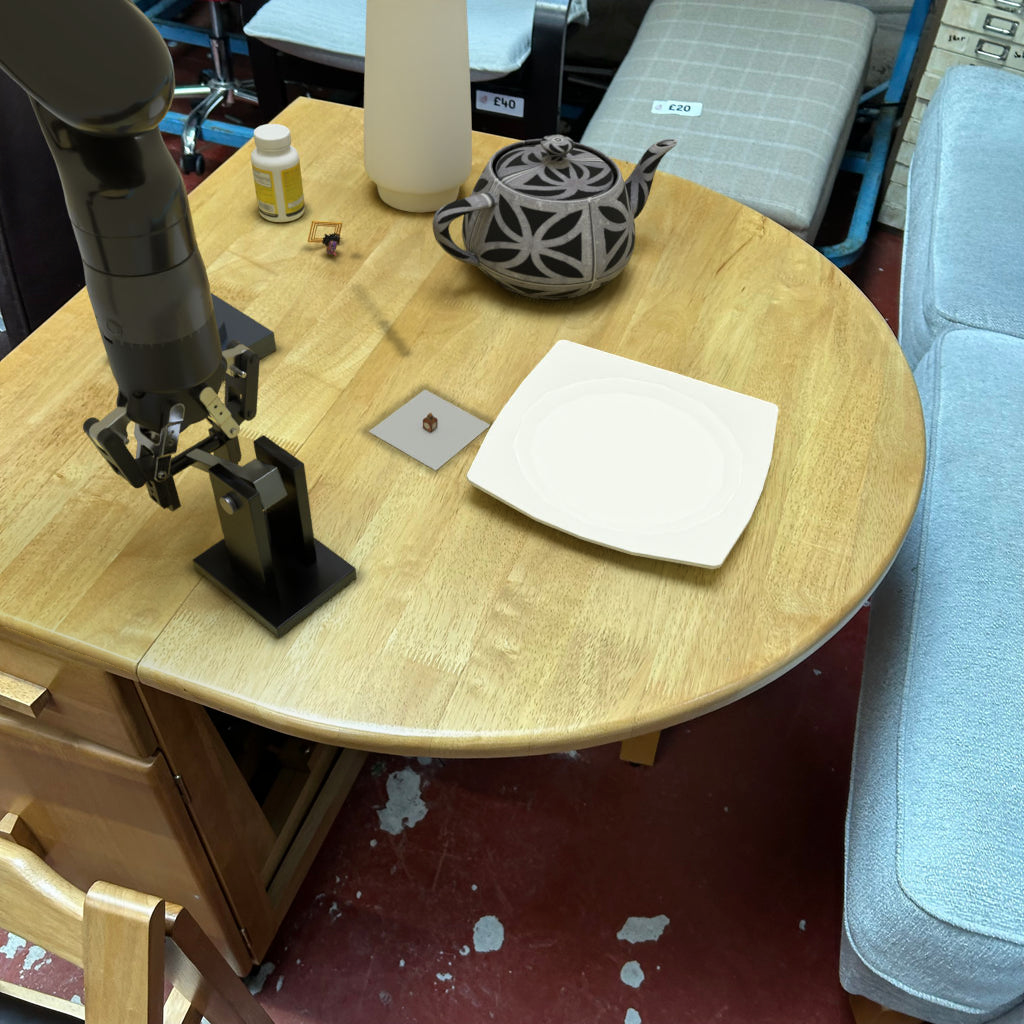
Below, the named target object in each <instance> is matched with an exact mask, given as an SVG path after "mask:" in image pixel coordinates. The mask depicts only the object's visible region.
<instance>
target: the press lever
mask: <svg viewBox="0 0 1024 1024" xmlns="http://www.w3.org/2000/svg"><path fill="white" fill-rule="evenodd" d="M220 447H222V442H221V440H220V439H219V437H218V436H217V435H215V434H212V435H210V436H206V437H205V438H203V439H201V440H200V441H198V442H197V443H195V444H193V445H192V446H190V447H189V448H186V449H185V450H183V451H181V452H180V453H178V454H176V455H175V456H173V457H171V463H170V470H169V473H170V474H172V475H173V477H174V476H176V475H178V474H180V473H181V472H183V471H184V470H186V469H188V468H189V467H192V468H195V469H198V470H200V471H201V472H204V473H207V474H209V472H208V469H209V468H211V467H212V466H214V465H216V464H217V463H220V464H222V465H223V466H224V467H226V468H227V469H228V470H230V471H231V472H232V473H234V474H235V475H236V476H238V477H239V478H241V479H242V480H243V481H245V482H246V483H247V484H249V485H250V486H251V487H253V488H254V489H255V490H257V491H258V492H259V493H260V497H261V502H262V508H263V511H265V510H266V509H267V508H269V507H270V506H272V505H273V504H275V503H276V502H278V501H279V500H281V499H282V498H284V497H285V496H287V495H288V494H287V491H286V488H285V486H284V483H283V480H282V478H281V475H280V472H279V470H278V468H277V467H275V466H273V465H270V464H267V463H265V462H262V461H260V460H257V459H256V458H253V459H251V461H248V462H247V463H246V464H244V465H239V464H238V465H237V464H235V463H232V462H230V461H227V460H225V459H222V458H220V457H217V456H215V455H214V454H212V453H213V452H214V451H215V450H217V449H219V448H220Z"/></svg>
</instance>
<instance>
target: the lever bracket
mask: <svg viewBox="0 0 1024 1024" xmlns="http://www.w3.org/2000/svg"><path fill="white" fill-rule="evenodd" d="M252 444H253V447H254V453H255V459H257V460H260V461H262V462H265V463H267V464H270V465H273V466H275V467H277V468H278V470H279V472H280V475H281V478H282V480H283V483H284V486H285V488H286V491H287V494H288V495H287V496H285V497H284V498H282V499H281V500H279V501H278V502H276V503H275V504H273V505H272V506H270V507H269V508H267V509H266V510H263V508H262V502H261V497H260V493H259V492H258V491H257V490H255V489H254V488H253V487H251V486H250V485H249V484H247V483H246V482H245V481H243V480H242V479H241V478H239V477H238V476H236V475H235V474H234V473H232V472H231V471H230V470H228V469H227V468H226V467H224V466H223V465H222V464H220V463H217V464H216V465H214V466H212V467H211V468H209V469H208V472H209V473H208V476H209V480H210V485H211V489H212V493H213V498H214V502H215V505H216V510H217V514H218V518H219V522H220V528H221V531H222V536H223V538H222V539H221V540H219V541H218V542H216V543H214V544H213V545H211V546H210V547H209V548H207V549H205V550H204V551H202V552H201V553H200V554H198V555H197V556H195V557H193V559H192V563H193V567H194V569H195V570H196V571H197V573H199V574H200V575H202V576H203V577H204V578H206V580H208V581H209V582H210V583H211V584H212V585H214V586H215V587H216V588H217V589H219V590H220V591H221V592H222V593H223V594H225V595H226V596H227V597H228V598H230V599H231V600H232V601H233V602H234V603H236V604H237V605H238V606H240V607H241V609H243V610H244V611H245V612H246V613H248V614H249V615H251V616H252V617H253V618H254V619H255V620H257V621H258V622H259V623H260V624H261V625H262V626H263V627H265V628H266V629H267V630H269V631H270V632H271V633H272V634H273V635H275V636H276V638H278V639H280V638H281V637H283V636H284V635H285V634H287V633H288V632H289V631H290V630H291V629H293V628H294V627H296V626H297V625H298V624H299V623H300V622H302V621H303V620H304V619H306V618H307V617H308V616H310V615H311V614H312V613H313V612H315V611H316V610H318V609H319V608H320V607H321V606H322V605H324V604H325V603H326V602H328V601H329V600H330V599H331V598H333V597H334V596H335V595H336V594H338V593H339V592H341V590H343V589H344V588H345V587H347V586H348V585H349V584H351V583H352V582H353V581H354V580H355V579H357V569H356V567H355V566H353V564H350V562H348V561H346V560H345V559H344V558H343V557H341V556H340V555H338V554H337V553H336V552H334V551H333V550H332V549H330V548H329V547H328V546H326V545H325V544H324V543H323V542H321V541H319V540H318V539H317V538H315V535H314V528H313V521H312V520H313V519H312V512H311V505H310V496H309V492H308V491H309V490H308V484H307V483H308V482H307V476H306V475H307V474H306V468H305V463H304V462H303V461H301V460H300V459H298V458H297V457H296V456H294V455H293V454H291V453H290V452H289V451H287V450H286V449H284V448H283V447H282V446H280V445H279V444H278V443H276V442H274V441H273V440H271V439H270V438H269V437H267V436H266V435H264V434H263V435H261V436H259V437H257V438H256V439H255V440H253V443H252Z"/></svg>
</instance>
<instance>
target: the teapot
mask: <svg viewBox="0 0 1024 1024" xmlns="http://www.w3.org/2000/svg"><path fill="white" fill-rule="evenodd" d="M678 142H679V141H678V140H677V139H674V138H666V139H662V140H659V141H656V142H655V143H653V144H652V145H650V146H649V148H647V149H646V150H645V152H644V153H643V154H642V156H641V158H640V159H639V160H638V161H637V164H636V165H635V167H634V169H633V170H632V171H631V173H630V174H629V176H628V177H627V178H626V179H624V177H623V174H622V171H621V169H620V167H619V165H618V164H617V163H616V162H615V161H614V160H613V159H612V158H611V157H610V156H608V155H607V154H606V153H604V152H602V151H600V150H598V149H597V148H594V147H592V146H590V145H586V144H583V143H580V142H575V141H574V140H573V139H571V137H569V136H566V135H562V134H549V135H545V136H544V137H542V138H535V139H526V140H521V141H517V142H513V143H511V144H508V145H506V146H505V145H504V146H503V147H502V148H500V149H498V150H497V151H496V152H495V153H494V154H493V155H492V156H491V157H490V158H489V160H488V161H487V163H486V165H485V167H484V168H483V170H482V172H481V173H480V175H479V178H478V179H477V181H476V183H475V185H474V186H473V189H472V190H471V193H470V195H469V196H467V197H463V198H460V199H456V200H455V201H454V202H451V203H449V204H447V205H445V206H443V207H442V208H440V209H439V210H438V211H435V213H434V215H433V218H432V232H433V235H434V238H435V240H436V242H437V244H438V245H439V247H441V249H442V250H443V251H444V252H445V253H447V254H448V255H449V256H450V257H452V258H454V259H456V260H458V261H459V262H461V263H465V264H468V265H471V266H475V267H477V268H478V269H479V270H480V271H481V272H483V273H484V274H485V275H486V276H487V277H489V278H490V279H491V280H492V281H494V282H495V283H496V284H498V286H500V287H503V288H504V289H506V290H507V291H510V292H512V293H514V294H517V295H520V296H524V297H528V298H531V299H539V300H565V299H566V300H567V299H571V298H576V297H580V296H583V295H586V294H588V293H591V292H593V291H594V290H596V289H598V288H600V287H602V286H604V285H606V284H608V283H609V282H611V281H612V280H614V279H615V278H616V277H618V276H619V275H620V274H621V273H622V272H623V271H624V269H626V267H627V265H628V264H629V262H630V260H631V258H632V256H633V253H634V250H635V244H636V225H635V224H636V223H635V220H636V219H637V218H638V217H639V215H640V214H641V213H642V211H643V210H644V208H645V206H646V205H647V202H648V199H649V196H650V193H651V188H652V185H653V182H654V177H655V175H656V171H657V169H658V167H659V164H660V162H661V161H662V159H663V158H664V157H665V156H666V154H667V153H668V152H669V151H671V150H672V149H673V148H674V147H676V146H677V144H678ZM462 216H463V218H462V224H461V237H462V242H463V245H464V248H465V249H463V248H461V247H460V246H458V245H457V244H456V243H455V242H454V240H453V239H452V237H451V233H450V225H451V224H452V222H453V221H454V220H457V219H458V218H460V217H462Z"/></svg>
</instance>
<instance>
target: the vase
mask: <svg viewBox="0 0 1024 1024" xmlns="http://www.w3.org/2000/svg"><path fill="white" fill-rule="evenodd" d="M467 7H468V5H467V0H366V8H365V9H366V10H365V38H364V39H365V43H364V75H363V76H364V78H363V79H364V81H363V85H364V86H363V93H364V94H363V164H364V165H363V166H364V170H365V173H366V175H367V176H368V178H370V180H371V181H372V182H373V183H375V184H376V187H377V192H378V195H379V197H380V199H381V200H382V201H383V202H384V203H385V204H386V205H388V206H390V207H391V208H394V209H396V210H399V211H402V212H408V213H418V214H419V213H421V214H422V213H423V214H424V213H433V212H437V211H438V210H439V209H440V208H442V207H443V206H445V205H447V204H449V203H451V202H454V201H457V200H458V197H459V193H460V188H461V186H462V185H463V184H464V183H466V181H467V180H468V179H469V178H470V175H471V174H472V167H473V136H472V135H473V134H472V133H473V128H472V125H473V124H472V99H471V98H472V97H471V93H472V92H471V71H470V70H471V69H470V68H471V67H470V46H469V45H470V44H469V26H468V25H469V24H468V23H469V22H468V8H467Z"/></svg>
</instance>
